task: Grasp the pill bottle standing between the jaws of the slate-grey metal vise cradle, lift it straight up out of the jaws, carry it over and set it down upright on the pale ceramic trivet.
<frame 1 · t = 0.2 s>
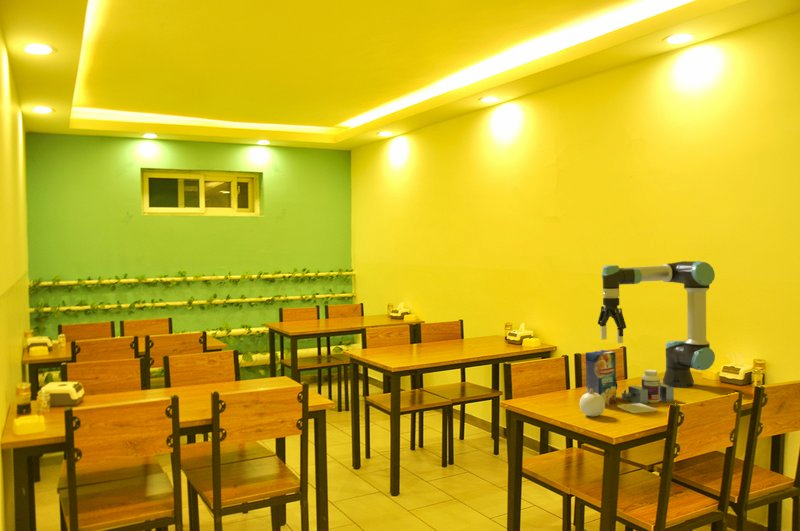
hand: (611, 341, 310), 27 cm above the table, fingers open, 13 cm apart
mug: (608, 398, 311), on the table
ornament: (592, 416, 278), on the table
cereal box: (601, 404, 299), on the table
vise: (651, 401, 302), on the table
pill bottle: (651, 401, 302), on the table
trivet: (636, 408, 288), on the table
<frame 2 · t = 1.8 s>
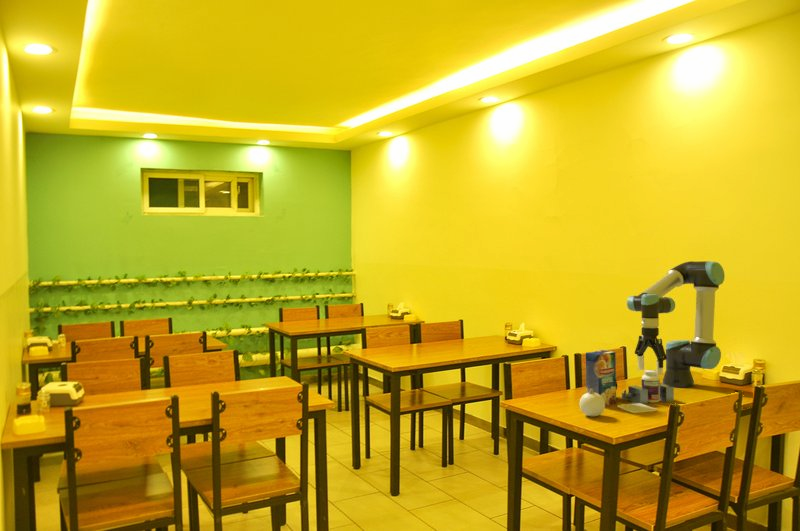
hand: (650, 372, 301), 14 cm above the table, fingers open, 13 cm apart
nothing on the table moved.
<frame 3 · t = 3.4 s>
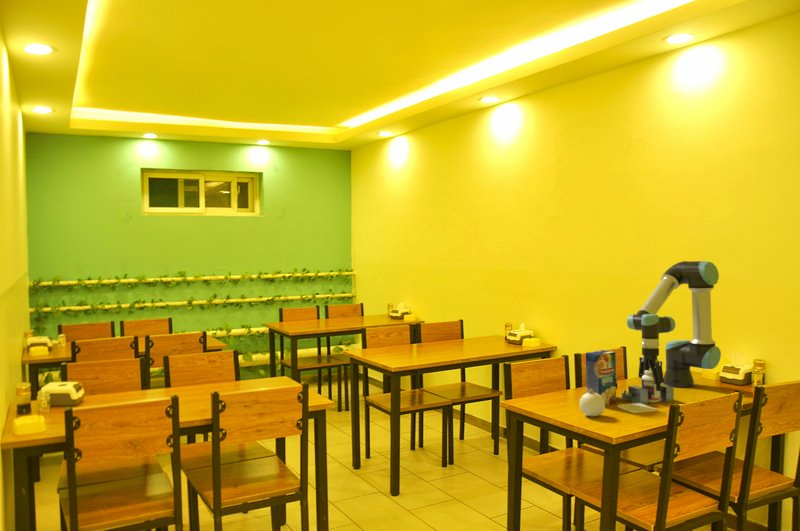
hand: (650, 395, 302), 3 cm above the table, fingers closed on pill bottle, 8 cm apart
pill bottle: (651, 401, 302), on the table, touching gripper
everything else where it was.
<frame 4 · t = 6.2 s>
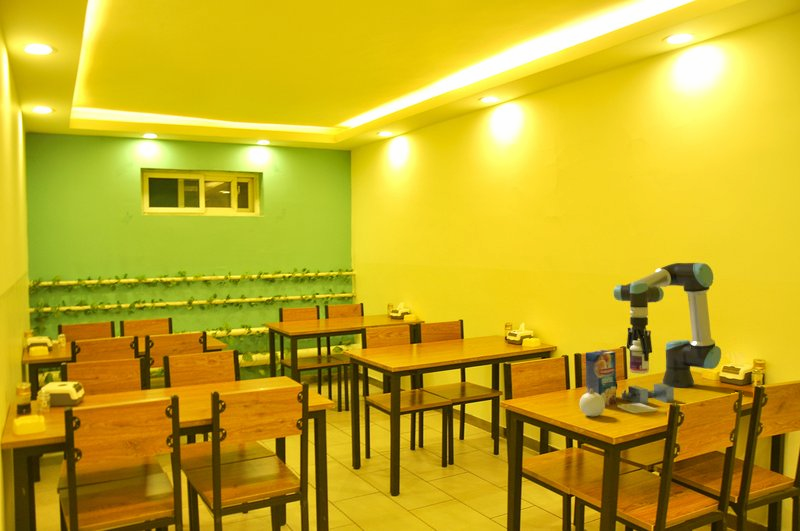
hand: (639, 366, 291), 18 cm above the table, fingers closed on pill bottle, 8 cm apart
pill bottle: (639, 373, 291), point 15 cm above the table, touching gripper
everything else where it was.
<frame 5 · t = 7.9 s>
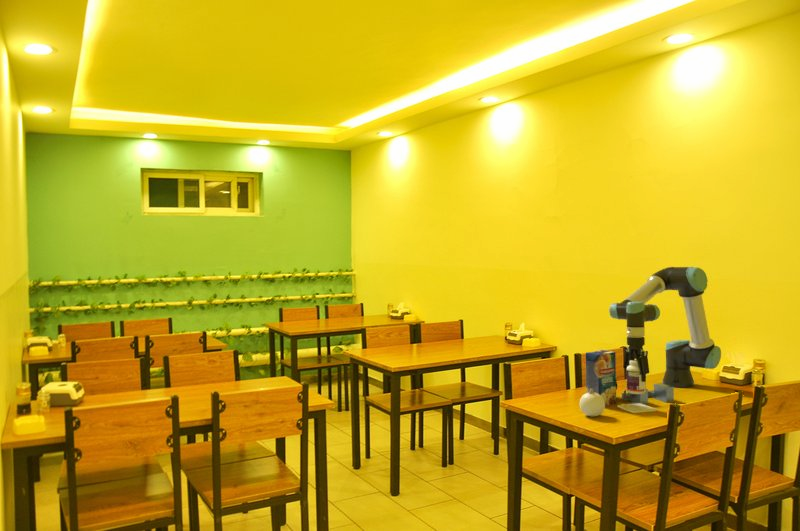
hand: (636, 386, 288), 10 cm above the table, fingers closed on pill bottle, 8 cm apart
pill bottle: (636, 393, 288), point 7 cm above the table, touching gripper
everything else where it was.
when the fingers open (5 cm above the table, at t = 9.3 s): pill bottle drops 1 cm, resting on trivet.
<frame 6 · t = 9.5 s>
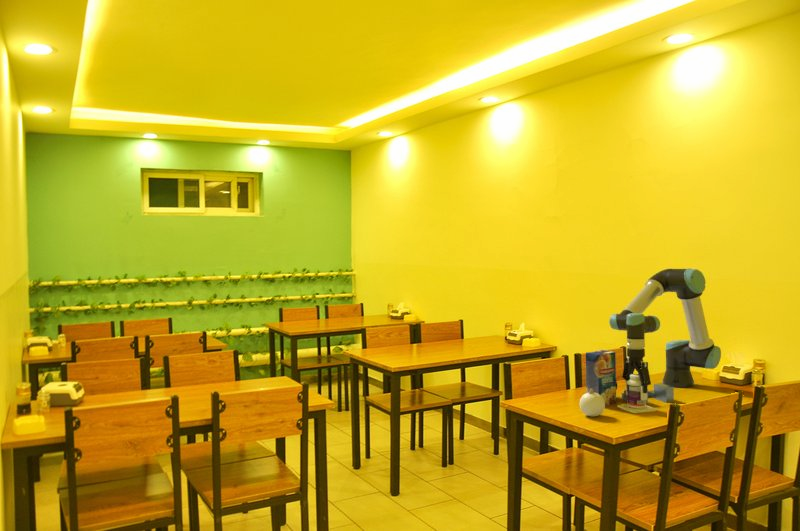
hand: (636, 397, 288), 5 cm above the table, fingers open, 10 cm apart
pill bottle: (636, 407, 288), point 1 cm above the table, touching trivet
everything else where it was.
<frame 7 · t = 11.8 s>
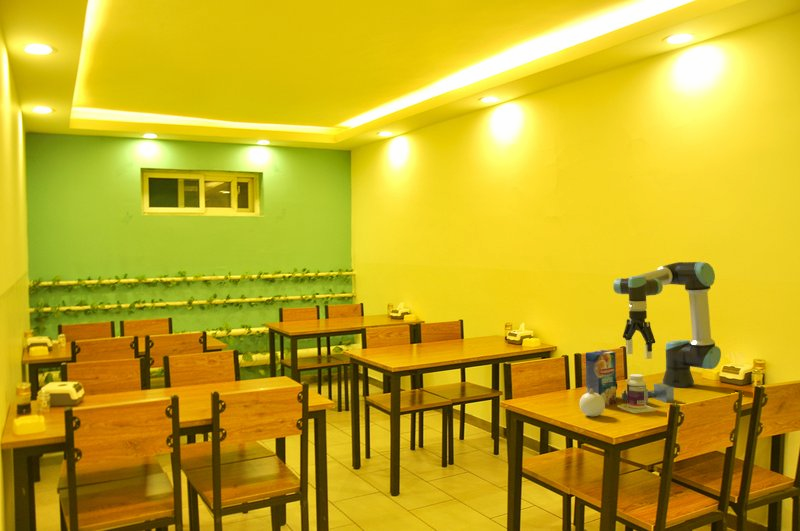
hand: (639, 356, 294), 23 cm above the table, fingers open, 13 cm apart
nothing on the table moved.
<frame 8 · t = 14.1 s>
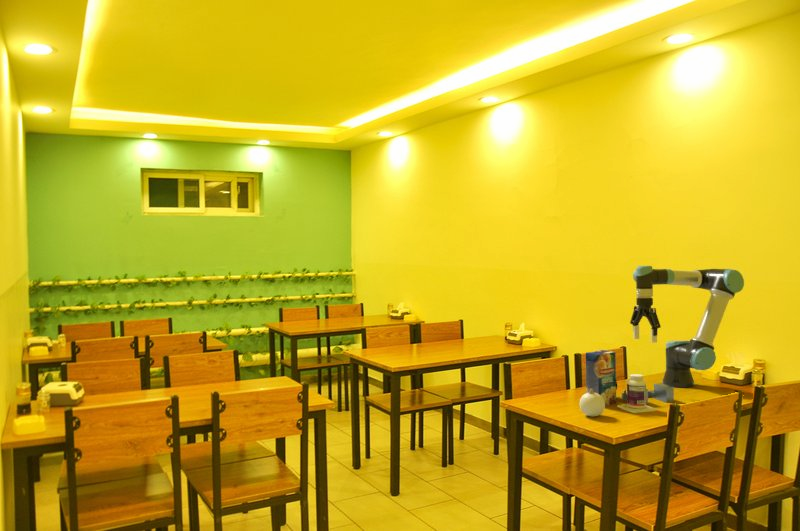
hand: (645, 340, 314), 27 cm above the table, fingers open, 13 cm apart
nothing on the table moved.
at the end: pill bottle inside the target area on the trivet (0.0 cm from its centre), point 0.6 cm above the trivet's base; pill bottle tilted 0°; the gripper is holding nothing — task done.
